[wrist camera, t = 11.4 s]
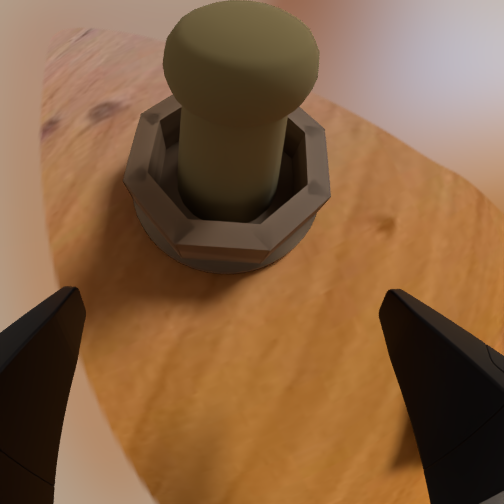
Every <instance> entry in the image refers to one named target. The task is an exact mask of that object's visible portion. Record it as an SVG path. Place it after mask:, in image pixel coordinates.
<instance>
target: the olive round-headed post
mask: <svg viewBox="0 0 504 504" xmlns="http://www.w3.org/2000/svg"><path fill="white" fill-rule="evenodd" d="M318 67H319V49H318V47H317V44H316V41H315V39H314V37H313V35H312V33H311V31H310V29H309V28H308V27H307V26H306V25H305V24H304V23H303V22H301V20H299V19H298V18H296V17H295V16H293V15H291V14H289V13H288V12H286V11H284V10H282V9H280V8H277V7H275V6H272V5H268V4H266V3H260V2H254V1H245V0H243V1H242V0H230V1H223V2H216V3H212V4H210V5H206V6H203V7H200V8H198V9H195V10H193V11H191V12H190V13H188V14H187V15H185V16H184V17H182V18H181V20H180V21H179V22H178V24H177V25H176V26H175V27H174V29H173V30H172V32H171V33H170V34H169V36H168V38H167V40H166V45H165V50H164V57H163V69H164V75H165V78H166V80H167V83H168V85H169V87H170V89H171V92H172V93H173V95H174V97H175V99H176V100H177V101H178V102H179V103H180V104H181V105H182V109H181V121H180V135H179V152H178V172H177V184H178V192H179V194H180V197H181V199H182V202H183V204H184V205H185V206H186V207H187V208H188V209H189V211H190V212H191V213H192V214H193V215H195V216H196V217H198V218H200V219H201V220H208V221H222V222H236V223H247V222H250V221H252V220H255V219H257V218H258V217H259V216H260V215H261V214H263V213H264V212H265V211H266V210H267V209H268V208H269V206H270V205H271V203H272V201H273V200H274V198H275V195H276V190H277V184H278V178H279V172H280V165H281V159H282V152H283V145H284V139H285V132H286V125H287V118H288V115H289V114H290V113H292V112H294V111H295V110H296V109H297V108H298V107H299V106H300V105H301V104H302V103H303V101H304V100H305V99H306V97H307V96H308V95H309V93H310V92H311V90H312V89H313V86H314V84H315V82H316V80H317V78H318Z"/></svg>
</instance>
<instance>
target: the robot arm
mask: <svg viewBox="0 0 504 504" xmlns="http://www.w3.org/2000/svg"><path fill="white" fill-rule="evenodd" d="M85 317H86V311H85V307H84V304H83V301H82V298H81V294H80V291H79V289H78V288H77V287H72V286H65V287H63V288H61V289H60V290H58V291H57V292H55V293H54V294H53V295H51V296H50V297H48V298H47V299H46V300H44V301H43V302H41V303H40V304H38V305H37V306H36V307H34V308H33V309H31V310H30V311H29V312H27V313H26V314H25V315H23V316H22V317H21V318H19V319H18V320H17V321H15V322H14V323H13V324H11V325H10V326H9V327H7V328H6V329H5V330H3V331H2V332H1V333H0V504H53V502H54V484H55V475H56V465H57V458H58V451H59V444H60V438H61V432H62V426H63V421H64V416H65V411H66V406H67V401H68V397H69V393H70V388H71V384H72V380H73V376H74V372H75V368H76V364H77V360H78V355H79V349H80V343H81V338H82V332H83V327H84V322H85ZM379 319H380V322H381V326H382V330H383V334H384V337H385V341H386V345H387V349H388V353H389V356H390V360H391V363H392V366H393V369H394V371H395V374H396V377H397V380H398V383H399V386H400V389H401V392H402V395H403V398H404V402H405V405H406V408H407V411H408V414H409V418H410V421H411V425H412V428H413V432H414V435H415V439H416V442H417V446H418V450H419V454H420V458H421V462H422V466H423V469H424V475H425V479H426V484H427V488H428V493H429V498H430V503H431V504H504V356H503V355H502V354H500V353H499V352H497V351H496V350H494V349H493V348H491V347H490V346H488V345H486V344H485V343H484V342H482V341H481V340H479V339H478V338H476V337H475V336H474V335H472V334H471V333H469V332H467V331H466V330H464V329H463V328H461V327H460V326H458V325H457V324H455V323H454V322H452V321H451V320H449V319H448V318H446V317H445V316H443V315H441V314H440V313H438V312H437V311H435V310H434V309H432V308H430V307H429V306H427V305H426V304H424V303H422V302H421V301H419V300H418V299H416V298H414V297H413V296H411V295H410V294H408V293H406V292H405V291H403V290H401V289H390V290H388V291H387V293H386V295H385V297H384V300H383V302H382V305H381V307H380V309H379Z"/></svg>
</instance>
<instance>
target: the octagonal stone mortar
mask: <svg viewBox="0 0 504 504" xmlns="http://www.w3.org/2000/svg"><path fill="white" fill-rule="evenodd" d="M181 109H182V105H181V104H180V103H179V102H178V101H177V100H176V99H175V97H174V95H171V96H170V97H168V98H166V99H164V100H163V101H161V102H160V103H158V104H156V105H155V106H153V107H151V108H150V109H148V110H147V111H145V112H144V113H141V116H140V119H139V123H138V126H137V129H136V133H135V136H134V140H133V143H132V147H131V151H130V155H129V158H128V162H127V166H126V171H125V175H124V179H123V182H124V184H125V186H126V187H127V189H128V191H129V193H130V194H131V196H132V198H133V201H134V206H135V209H136V213H137V216H138V218H139V220H140V222H141V224H142V226H143V228H144V229H145V231H146V232H147V234H148V235H149V236H150V238H151V239H152V240H153V242H154V243H155V244H156V245H157V246H158V247H159V248H160V249H161V250H162V251H164V252H165V253H166V254H167V255H169V256H170V257H171V258H173V259H175V260H176V261H178V262H180V263H182V264H184V265H186V266H189V267H191V268H193V269H197V270H201V271H205V272H210V273H217V274H236V273H244V272H249V271H253V270H256V269H260V268H262V267H265V266H267V265H269V264H272V263H274V262H275V261H277V260H279V259H280V258H282V257H283V256H285V255H286V254H287V253H288V252H290V251H291V250H292V249H293V248H294V247H295V246H296V245H297V244H298V243H299V242H300V241H301V240H302V239H303V238H304V236H305V235H306V233H307V232H308V230H309V229H310V227H311V225H312V223H313V221H314V219H315V217H316V214H317V212H318V211H319V210H320V208H321V207H322V206H323V205H324V204H325V203H326V202H327V201H328V199H329V198H330V197H331V194H330V180H329V168H328V157H327V146H326V137H325V129H324V128H323V127H322V126H321V125H320V124H318V123H317V122H316V121H315V120H314V119H313V118H312V117H311V116H309V115H308V114H307V113H306V112H305V111H304V110H302V109H301V108H300V107H298V108H297V109H296V110H295V111H294V112H292V113H290V114H289V115H288V118H287V125H286V132H285V139H284V145H283V152H282V159H281V165H280V172H279V178H278V184H277V190H276V195H275V198H274V200H273V201H272V203H271V205H270V206H269V208H268V209H267V210H266V211H265V212H264V213H263V214H261V215H260V216H259V217H258V218H257V219H255V220H252V221H250V222H247V223H236V222H222V221H208V220H201V219H200V218H198V217H196V216H195V215H193V214H192V213H191V212H190V211H189V209H188V208H187V207H186V206H185V205H184V204H183V202H182V199H181V197H180V194H179V192H178V184H177V172H178V152H179V135H180V121H181Z"/></svg>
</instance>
